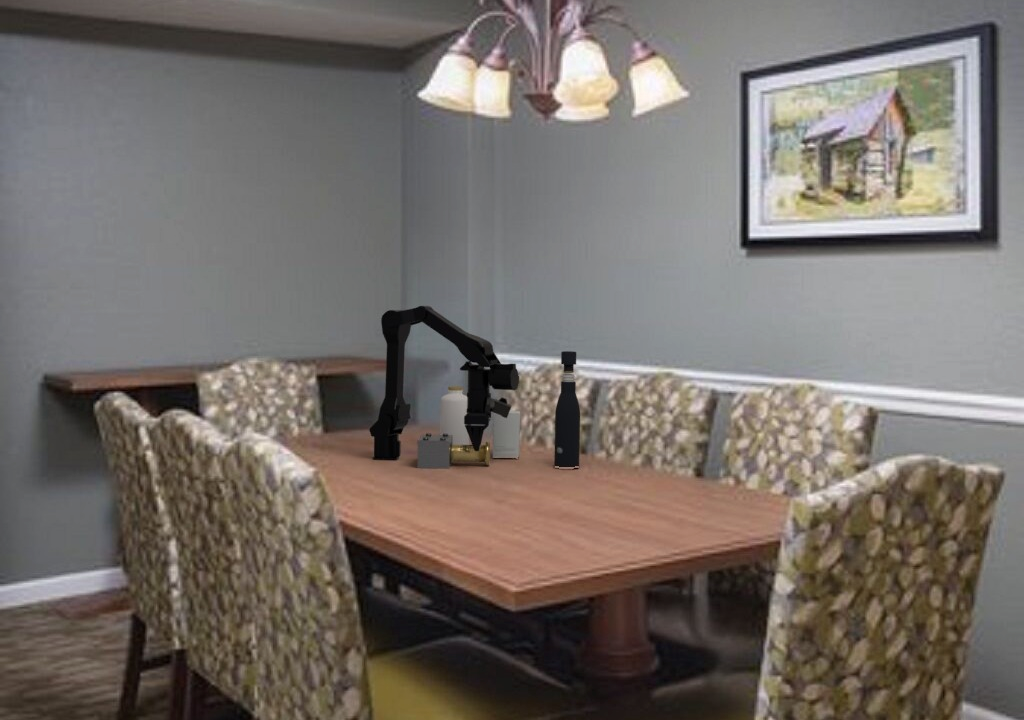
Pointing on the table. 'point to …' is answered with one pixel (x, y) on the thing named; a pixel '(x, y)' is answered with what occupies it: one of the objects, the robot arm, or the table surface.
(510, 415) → the supplement box
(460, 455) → the brass cylinder
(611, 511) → the table surface
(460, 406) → the white bottle
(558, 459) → the black water bottle
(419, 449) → the housing
